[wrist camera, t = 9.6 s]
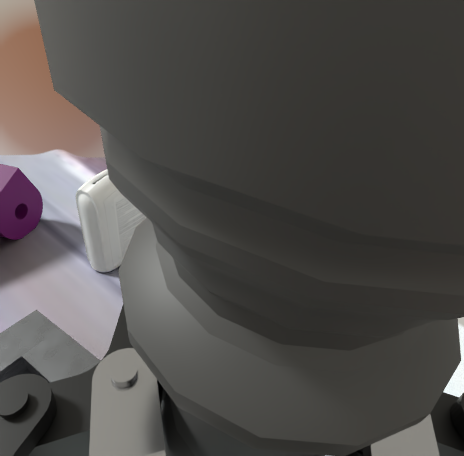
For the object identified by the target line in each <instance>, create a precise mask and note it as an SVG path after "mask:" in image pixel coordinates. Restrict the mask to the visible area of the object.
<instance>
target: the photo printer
mask: <svg viewBox="0 0 464 456" xmlns="http://www.w3.org/2000/svg"><path fill="white" fill-rule="evenodd" d="M76 203H77V208H78V213H79V218H80V223H81V228H82V233H83V238H84V243H85V248H86V253H87V257H88V260H89V262H90V263H91V266H92V268H93V269H94V270H96V271H99V272H109V271H112V270H113V269H115V268H117V267H118V266H120V265H121V263H122V261H123V258H124V256H125V253H126V251H127V248H128V246H129V243H130V241H131V238H132V236H133V233H134V231H135V228H136V227H137V226H138V225H139V224H140V223H141V222H142V221H143V220H145V219H146V218H147V217H146V216H145V215H143V214H142V213H141V212H140V211H139V210H138V209H137V208H136V207H135V206H134V205H133V204H132V203H131V202H130V201H128V200H127V199H126V198H125V197H124V196H123V195H122V194H121V193H120V192H119V190H118V189H117V188H116V187H115V186H114V184H113V183H112V182H111V181H110V180H109V175H108V170H105V171H103V172H101V173H99V174H97V175H96V176H94V177H93V178H91V179H90V180H88V181H87V182H86V183H85V184H84V185H82V186H81V187H80V188H79V190H78V191H77V192H76Z"/></svg>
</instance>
